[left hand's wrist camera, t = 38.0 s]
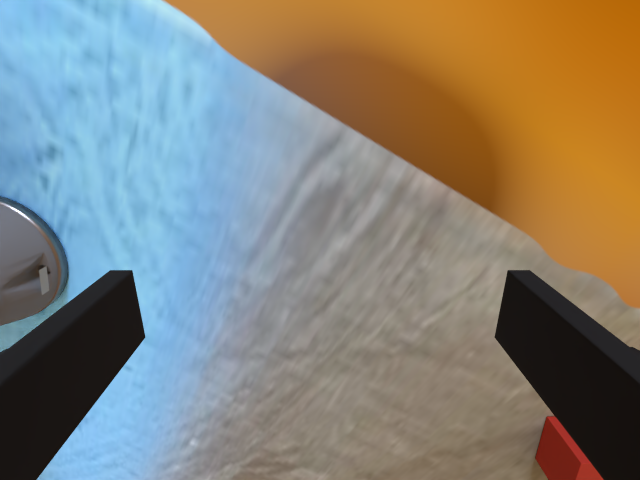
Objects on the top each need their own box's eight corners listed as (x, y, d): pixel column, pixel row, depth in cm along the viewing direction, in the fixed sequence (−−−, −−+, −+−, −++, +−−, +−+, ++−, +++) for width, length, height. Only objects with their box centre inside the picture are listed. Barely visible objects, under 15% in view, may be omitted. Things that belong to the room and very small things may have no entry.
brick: (535, 458, 54) (565, 508, 47) (546, 416, 52) (581, 463, 45) (567, 458, 54) (602, 508, 47) (580, 416, 52) (620, 463, 45)
